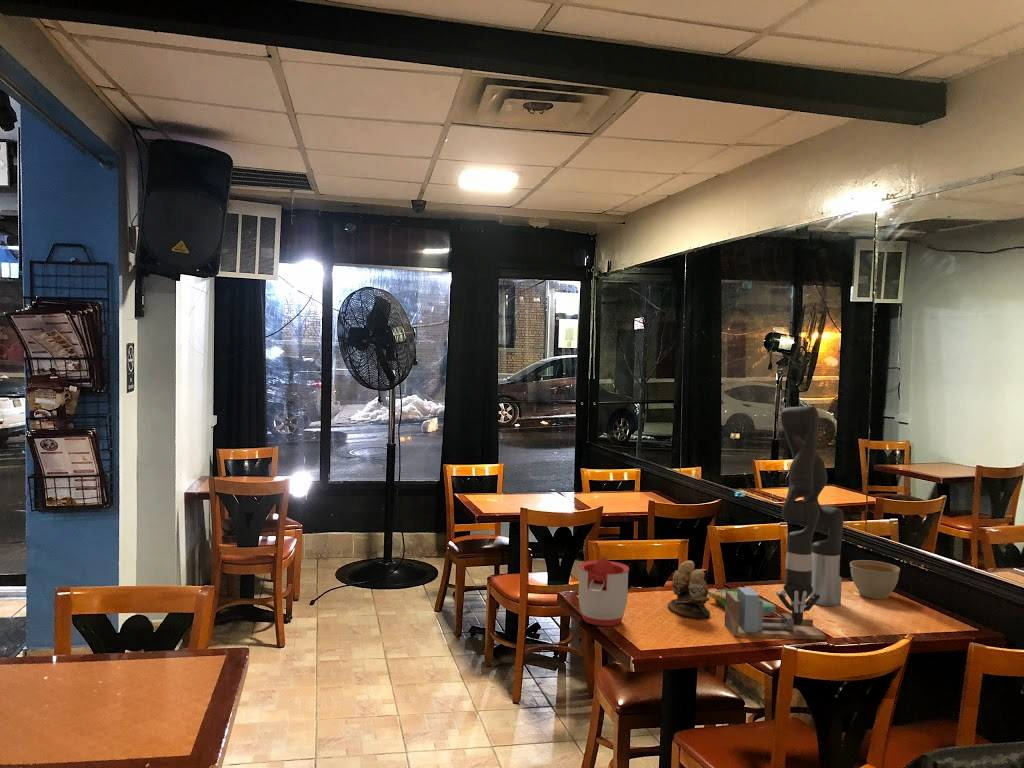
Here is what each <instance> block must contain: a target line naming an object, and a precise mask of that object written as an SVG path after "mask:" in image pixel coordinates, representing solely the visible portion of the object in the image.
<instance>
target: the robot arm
mask: <svg viewBox="0 0 1024 768" xmlns="http://www.w3.org/2000/svg"><path fill="white" fill-rule="evenodd" d="M780 422H781V427H782V430H783V433H784V436H785V439H786V441H787V444H788V447H789V449H790V451H791V456H792V462H791V464H790V467H789V470H788V489H787V490H788V491H787V494H786V497H785V500H784V504H783V506H782V509H781V517H782V519H783V521H784V522H785V523H787V524H790V525H802V526H805V527H804V528H803V529H802V530H794V531H791V532H789V533H787V539H786V541H787V543H786V556H785V571H784V573H785V574H784V575H785V579H784V583H785V584H784V585H783V589H781V591H777V592H776V593H775V594H776V596H777V597H778V599H779V600H780V602H782V604H783V605H784V607H785V608H786V609H788V610H789V611H790V612H791V617H792V618H793V619H794V624H795V625H801V623H802V622H803V619H804V613H805V612H809V611H810V610H811V609H812V608H813V606H814V605H819V606H823V607H836V606H841V605H842V604H841V603H842V587H843V586H842V582H843V581H842V580H843V578H842V576H840V568H841V550H842V543H843V542H842V541H843V539H842V538H843V531H844V513H843V510H842V509H841V508H839V507H835V506H829V505H821V504H820V503H819V497H820V494H821V492H823V490H824V488H825V487H826V484H827V482H828V472H827V469H826V465H825V462H824V459H823V458H822V457H821V456H820V454H818V453H817V447H818V439H819V432H820V416H819V412H818V409H817V408H816V407H815V406H813V405H802V406H789V407H785V408H783V409H782V410H781V412H780ZM801 436H806V438H805V441H804V440H803V439H802V438H801ZM799 498H803V501H802V500H797V499H799ZM814 532H818V533H823V534H827V535H828V537H827V538H826V539H824V540H819V541H815V542H813V537H814ZM787 596H788V598H789V601H790V603H789V601H788V600H787V599H786V598H787Z"/></svg>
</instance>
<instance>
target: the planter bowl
mask: <svg viewBox="0 0 1024 768" xmlns="http://www.w3.org/2000/svg"><path fill="white" fill-rule="evenodd" d="M849 567H850V574H851V579H852V581H853V584H854V586H855V587H856V589H857V590H858V593H859V595H861V596H862V597H864V596H865V598H867V599H871V598H873V599H874V600H886V599H889V596H890V594H891V593H892V592H893V591H894V589H895V588H896V586H897V584H898V581H899V578H900V577H899V575H900V573H901V568H900V567H899V566H897V565H894V564H891V563H887V562H883V561H877V560H869V559H868V560H866V559H865V560H864V559H861V560H860V559H859V560H852V561H850V562H849Z"/></svg>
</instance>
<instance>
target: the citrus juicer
mask: <svg viewBox="0 0 1024 768" xmlns="http://www.w3.org/2000/svg"><path fill="white" fill-rule="evenodd" d="M578 569H579V570H578V571H579V574H578V603H579V605H578V606H579V609H580V614H581V616H582V620H583V621H584V622H586V624H590V625H595V626H600V627H601V626H603V627H608V628H609V627H613V626H616V625H619V624H620V623H621V622H622V620H623V617H624V614H625V612H626V607H627V603H628V594H629V593H628V588H629V572H630V568H629V566H628V565H626V564H623V563H622V562H617V561H611V560H609V559H608V558H607V557H606V556H602V557H601V558H599V559H598V560H594V559H593V560H586V561H582V562H581V563H579V564H578Z"/></svg>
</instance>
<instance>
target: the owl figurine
mask: <svg viewBox="0 0 1024 768" xmlns="http://www.w3.org/2000/svg"><path fill="white" fill-rule="evenodd" d="M695 565H696V564H695V562H694V561H693V560H686V561H683V562H682V563H681V564H680V566H679V567H678V570H675V571H674V572H673V576H672V580H671V581H672V582H671V585H672V592H673V594H674V595H676V597H677V598H674V599H671V601H669V602H668V603H667V610H668V611H669V612H671V611H672V612H673V613H672V612H671V613H672V614H674V613H675V614H674V615H676V614H677V615H676V616H678V615H679V617H680V616H681V617H680V618H683V617H684V619H687V618H688V619H687V620H696V621H699V620H701V619H702V620H703V619H706V620H707V619H710V617H711V611H710V610H709V609H708V608H707V607H706V603H707V602H709V601H710V596H708V593H709V592H708V591H709V587H708V585H707V582H706V581H705V576H706V573H705V572H704V571H703V570H701V569H698V568H696V569H695Z"/></svg>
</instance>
